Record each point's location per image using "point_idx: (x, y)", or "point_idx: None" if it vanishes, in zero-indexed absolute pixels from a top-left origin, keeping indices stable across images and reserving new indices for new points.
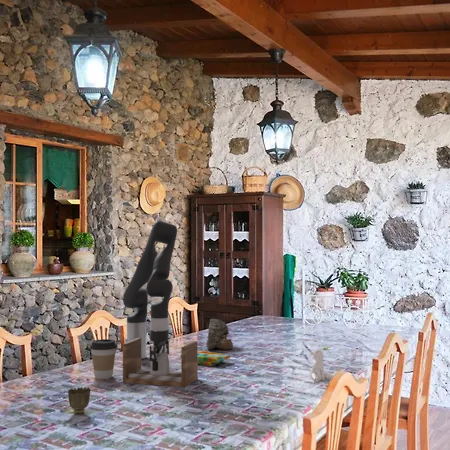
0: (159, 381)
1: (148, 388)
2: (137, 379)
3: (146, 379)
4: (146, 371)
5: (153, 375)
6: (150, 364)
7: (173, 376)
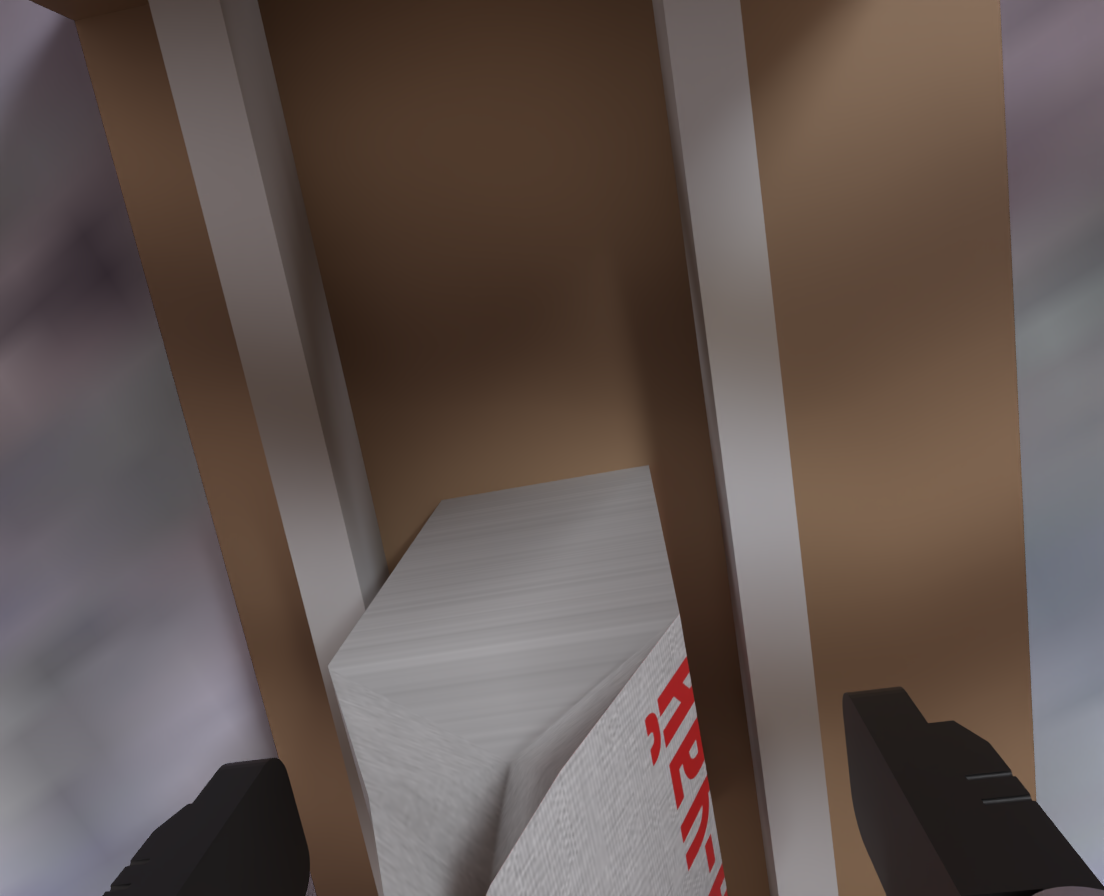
0: None
1: (49, 713)
2: (166, 332)
3: (276, 512)
4: (691, 220)
5: None
6: (346, 652)
7: (765, 870)
